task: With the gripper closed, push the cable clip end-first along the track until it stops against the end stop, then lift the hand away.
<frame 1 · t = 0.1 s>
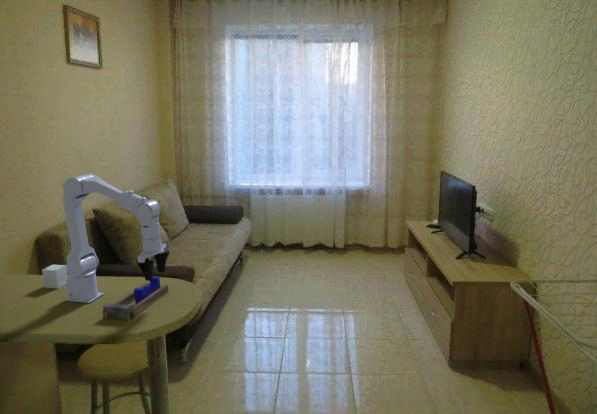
hand: (155, 276, 156), 10 cm above the table, tool pointing down, fingers open, 7 cm apart
cable clip: (146, 299, 163), resting in cable track
cable track: (138, 304, 158), on the table
skincare box: (57, 286, 177), on the table
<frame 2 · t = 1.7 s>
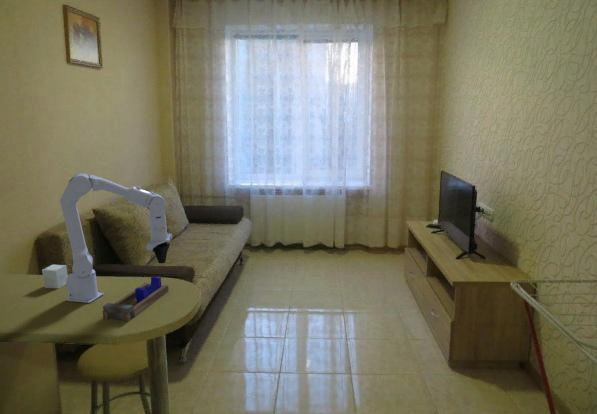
hand: (162, 262, 172), 9 cm above the table, tool pointing down, fingers closed
nothing on the table moved.
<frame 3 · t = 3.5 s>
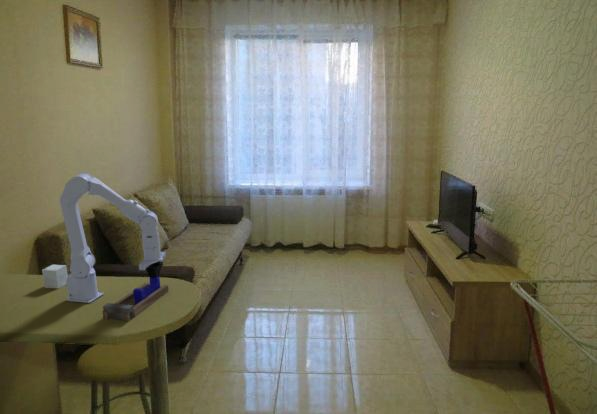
hand: (155, 282, 168), 3 cm above the table, tool pointing down, fingers closed
cable clip: (146, 300, 162), resting in cable track, touching gripper
everything else where it was.
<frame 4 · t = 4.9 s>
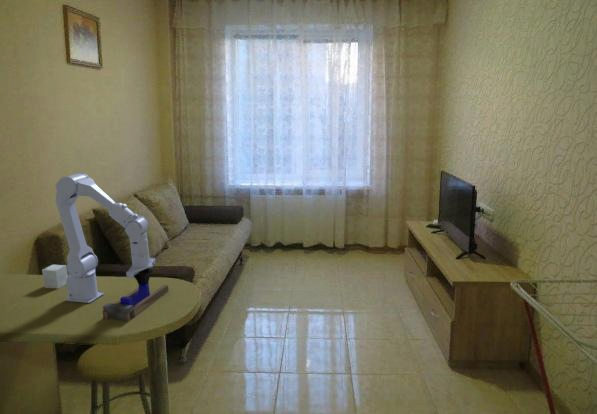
hand: (144, 289, 161), 3 cm above the table, tool pointing down, fingers closed
cable clip: (134, 308, 155), resting in cable track, touching gripper
everything else where it was.
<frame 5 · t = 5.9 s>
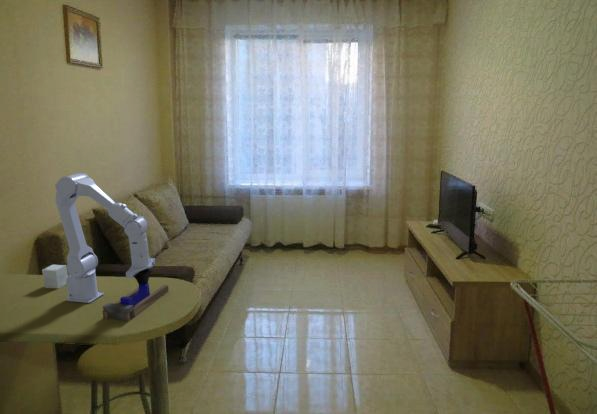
hand: (143, 290, 161), 3 cm above the table, tool pointing down, fingers closed
nothing on the table moved.
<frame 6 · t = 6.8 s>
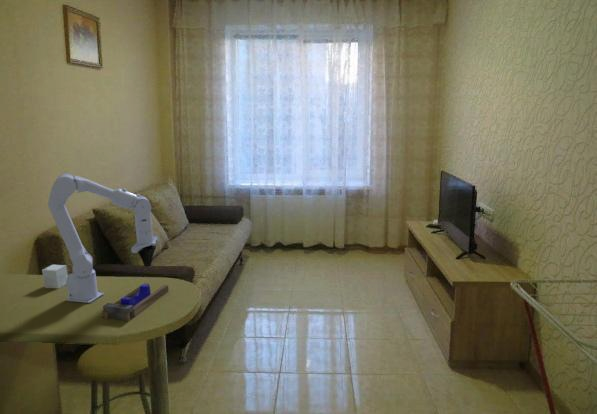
hand: (147, 265, 171), 8 cm above the table, tool pointing down, fingers closed
cable clip: (135, 309, 155), resting in cable track
everything else where it was.
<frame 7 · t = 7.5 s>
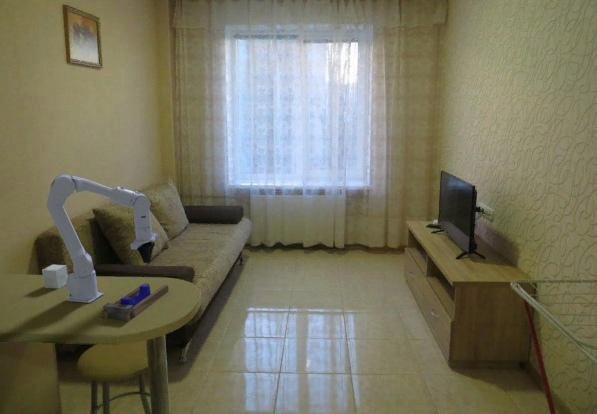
hand: (146, 262, 172), 9 cm above the table, tool pointing down, fingers closed
nothing on the table moved.
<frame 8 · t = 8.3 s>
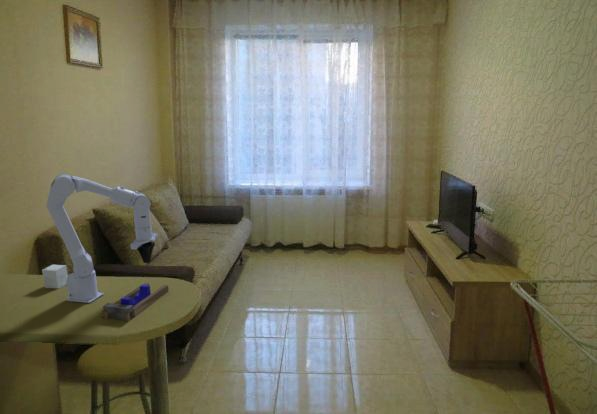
hand: (146, 262, 172), 9 cm above the table, tool pointing down, fingers closed
nothing on the table moved.
at the end: cable clip 1.0 cm from the target spot, resting in cable track; cable clip tilted 0°; cable clip moved 8.0 cm from its start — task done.
